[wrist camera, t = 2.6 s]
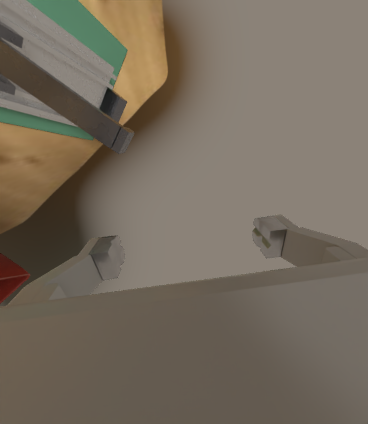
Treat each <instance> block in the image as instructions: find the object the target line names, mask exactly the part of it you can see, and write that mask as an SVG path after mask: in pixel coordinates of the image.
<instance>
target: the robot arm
mask: <svg viewBox="0 0 368 424" xmlns="http://www.w3.org/2000/svg"><path fill="white" fill-rule="evenodd" d="M253 224H254V226H255V229H254V230H253V234H252V236H253V241H254V243H255V244H256V245H257V246H258V247H260V248H261V249H260V250H261V252H262V253H263V255H264V256H265V257H266V258H275V257H282V258H283V259H285V260H287V261H288V262H290V263H292V264H293V265H295V266H297V267H293V268H286V269H278V270H270V271H263V272H256V273H249V274H241V275H234V276H227V277H219V278H212V279H204V280H196V281H189V282H182V283H174V284H166V285H159V286H152V287H144V288H137V289H129V290H123V291H114V292H107V293H100V294H92V295H90V294H91V292H92V291H93V290H94V289H95V288H96V287H97V286H98V285H99V284H100V283H101V282H102V281H103V280H109V279H115V278H118V276H119V274H120V271H121V267H120V266H121V265H122V264H123V263H124V259H125V253H124V249H123V247H122V246H120V243H121V240H120V237H119V236H108V237H98V238H92V239H90V240H89V242H88V243H87V244H86V246H85V247H84V248H83V250H82V251H81V252H80V254H79V255H78V256H75V257H73V258H71V259H70V260H68V261H66V262H65V263H63V264H61V265H60V266H58V267H57V268H55V269H53V270H52V271H50V272H48V273H47V274H45V275H43V276H42V277H40V278H38V279H37V280H35V281H33V282H32V283H30V284H28V285H27V286H25V287H24V288H23V289H22V290H21V291H20V292H19V293H18V295H17V296H16V297H15V298H14V299H13V300H12V301H11V302H10V303H9V304H8V305H7V306H3V307H0V424H368V250H367V249H366V248H364V247H362V246H361V245H359V244H357V243H355V242H351V241H348V240H345V239H341V238H337V237H334V236H331V235H327V234H323V233H320V232H317V231H313V230H309V229H306V228H303V227H300V228H299V227H298V226H296V225H295V224H293V223H292V222H291V221H289V220H288V219H287V218H285V217H284V216H283V215H273V216H267V217H261V218H255V219H254V222H253Z"/></svg>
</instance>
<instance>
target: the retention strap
mask: <svg viewBox="0 0 368 424" xmlns="http://www.w3.org/2000/svg"><path fill="white" fill-rule="evenodd" d="M0 74H2V75H3V76H5V77H6V78H7V79H9V80H10V81H12V82H13V83H15V84H16V85H18V86H19V87H21V88H22V89H24V90H25V91H27V92H28V93H29V94H31V95H32V96H34V97H35V98H37V99H38V100H40V101H41V102H43V103H44V104H46V105H47V106H49V107H50V108H52V109H53V110H54V111H56V112H57V113H59V114H60V115H62V116H63V117H65V118H66V119H68V120H69V121H71V122H72V123H74V124H75V125H76V126H78V127H79V128H81V129H82V130H84V131H85V132H87V133H88V134H90V135H91V136H93V137H94V138H96V139H97V140H98V141H100V142H101V143H103V144H104V145H106V146H107V147H109V148H110V149H112V150H114V151H115V152H117V153H118V154H120V153H124V152H125V151H126V149H127V147H128V145H129V143H130V141H131V139H132V137H133V135H134V132H133V131H132V130H130V129H129V128H125V127H123V126H122V125H120V124H119V123H118V122H116V121H115V120H114V119H112V118H111V117H109V116H108V115H107V114H105V113H104V112H102V111H101V110H100V109H98V108H97V107H95V106H94V105H93V104H91V103H90V102H89V101H87V100H86V99H84V98H83V97H82V96H80V95H79V94H77V93H76V92H75V91H73V90H72V89H70V88H69V87H68V86H66V85H65V84H64V83H62V82H61V81H59V80H58V79H57V78H55V77H54V76H52V75H51V74H50V73H48V72H47V71H45V70H44V69H43V68H41V67H40V66H39V65H37V64H36V63H34V62H33V61H32V60H30V59H29V58H27V57H26V56H25V55H23V54H22V53H20V52H19V51H18V50H16V49H15V48H14V47H12V46H11V45H9V44H8V43H7V42H5V41H4V40H2V39H1V38H0Z"/></svg>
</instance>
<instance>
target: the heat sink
mask: <svg viewBox="0 0 368 424" xmlns="http://www.w3.org/2000/svg"><path fill="white" fill-rule="evenodd" d="M0 38H1V39H2V40H4V41H5V42H7V43H8V44H9V45H11V46H12V47H14V48H15V49H16V50H18V51H19V52H20V53H22V54H23V55H25V56H26V57H27V58H29V59H30V60H32V61H33V62H34V63H36V64H37V65H39V66H40V67H41V68H43V69H44V70H45V71H47V72H48V73H50V74H51V75H52V76H54V77H55V78H57V79H58V80H59V81H61V82H62V83H64V84H65V85H66V86H68V87H69V88H70V89H72V90H73V91H75V92H76V93H77V94H79V95H80V96H82V97H83V98H84V99H86V100H87V101H89V102H90V103H91V104H93V105H94V106H95V107H97V108H98V109H100V110H101V111H102V112H104V113H105V114H107V115H108V116H109V117H111V118H112V119H114V120H115V121H116V122H119V120H120V117H121V115H122V113H123V110H124V108H125V106H126V104H127V101H126V100H124V99H123V98H122V97H121V96H120V95H118V94H117V93H116V92H115V91H113V90H112V89H113V87H114V86H112V85H111V84H110V83H109V82H110V79H111V78H113V79H114V80H115V81H116V79H117V77H116V76H115V75H114V74H113V71H114V67H112V66H111V65H110V64H109V63H107V62H106V61H105V60H104V59H102V58H101V57H100V56H98V55H97V54H96V53H95V52H93V51H92V50H91V49H89V48H88V47H87V46H86V45H84V44H83V43H82V42H80V41H79V40H78V39H76V38H75V37H74V36H73V35H71V34H70V33H69V32H67V31H66V30H65V29H63V28H62V27H61V26H60V25H58V24H57V23H56V22H54V21H53V20H52V19H51V18H49V17H48V16H47V15H45V14H44V13H43V12H41V11H40V10H39V9H38V8H36V7H35V6H34V5H32V4H31V3H30V2H28V1H27V0H0ZM0 107H4V108H8V109H12V110H15V111H19V112H23V113H27V114H31V115H34V116H38V117H42V118H46V119H50V120H53V121H57V122H61V123H65V124H69V125H72V126H76V125H75V124H74V123H72V122H71V121H69V120H68V119H66V118H65V117H63V116H62V115H60V114H59V113H57V112H56V111H54V110H53V109H52V108H50V107H49V106H47V105H46V104H44V103H43V102H41V101H40V100H38V99H37V98H35V97H34V96H32V95H31V94H29V93H28V92H27V91H25V90H24V89H22V88H21V87H19V86H18V85H16V84H15V83H13V82H12V81H10V80H9V79H7V78H6V77H5V76H3V75H2V74H0ZM76 127H78V126H76Z"/></svg>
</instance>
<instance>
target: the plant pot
mask: <svg viewBox="0 0 368 424" xmlns="http://www.w3.org/2000/svg"><path fill="white" fill-rule="evenodd" d="M29 277H30V274H29V273H28V272H26V271H25V270H24V269H23V268H21V267H20V266H19V265H17V264H16V263H14V262H13V261H11V260H10V259H8V258H7V257H6V256H4V255H2V254H1V253H0V304H1V302H3V301H4V300H5V299H6V298H7V297H8V296H9V295H10V294H12V293H13V292H14V291H15V290H16V289H17V288H18V287H19V286H20V285H21V284H23V283H24V282H25V281H26V280H27V279H28V278H29Z"/></svg>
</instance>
